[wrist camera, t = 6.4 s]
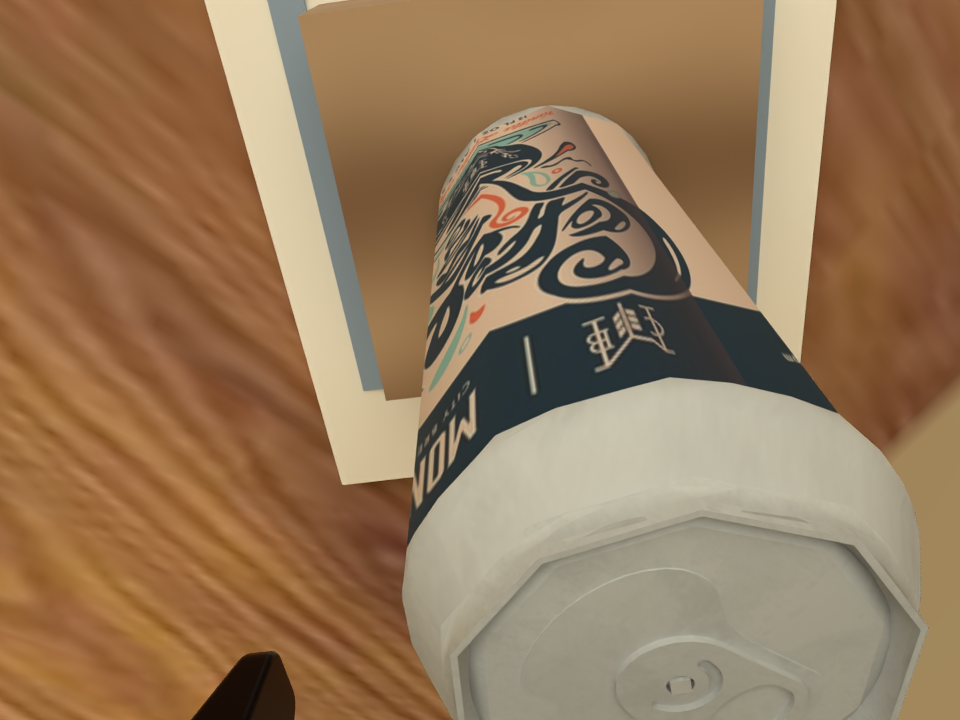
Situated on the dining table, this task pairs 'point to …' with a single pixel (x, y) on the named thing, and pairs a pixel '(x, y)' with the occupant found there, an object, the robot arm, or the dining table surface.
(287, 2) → the white flat square slab
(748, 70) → the base block
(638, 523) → the beer can
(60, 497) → the dining table surface
